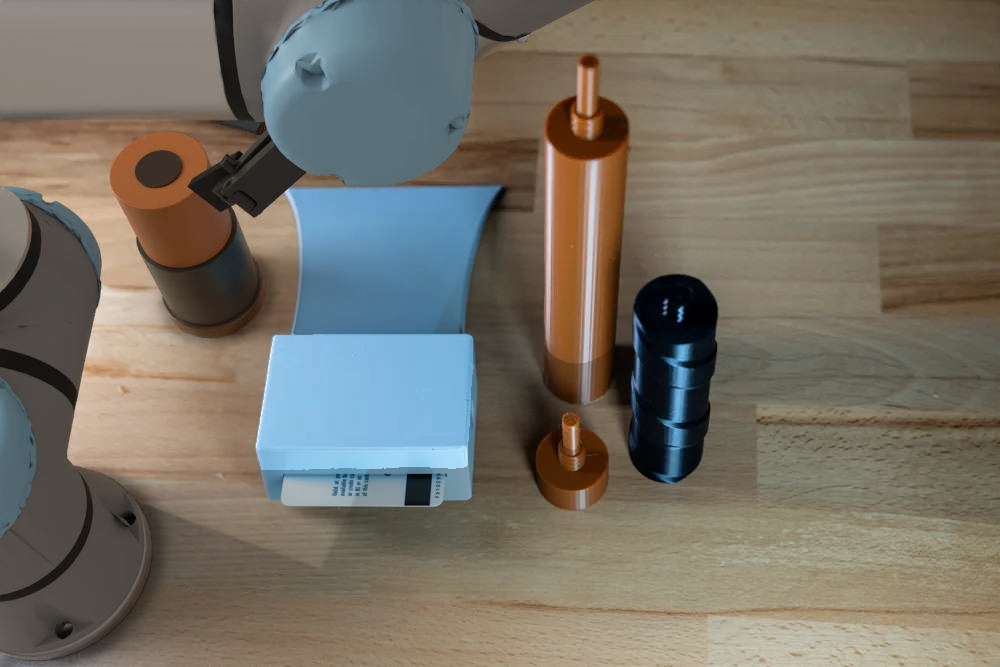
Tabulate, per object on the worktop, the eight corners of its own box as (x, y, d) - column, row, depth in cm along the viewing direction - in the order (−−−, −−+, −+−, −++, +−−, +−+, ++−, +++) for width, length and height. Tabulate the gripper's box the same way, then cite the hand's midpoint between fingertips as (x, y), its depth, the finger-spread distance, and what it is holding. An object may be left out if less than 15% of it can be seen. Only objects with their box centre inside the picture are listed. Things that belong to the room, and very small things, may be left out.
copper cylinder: (205, 279, 95) (177, 219, 88) (123, 253, 97) (89, 192, 90) (248, 207, 98) (224, 144, 92) (168, 183, 100) (139, 119, 93)
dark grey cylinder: (237, 350, 103) (208, 288, 94) (148, 321, 105) (112, 257, 96) (283, 269, 107) (259, 203, 99) (196, 242, 109) (165, 175, 101)
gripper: (398, 221, 60) (211, 297, 76) (560, -94, 71) (368, 30, 88) (284, 126, 56) (114, 227, 73) (473, -189, 68) (291, -42, 84)
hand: (253, 119), depth 80 cm, fingers open, 13 cm apart
